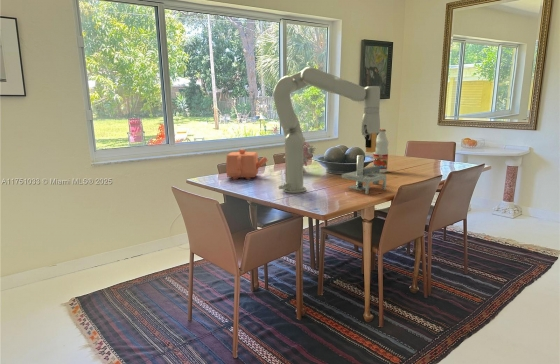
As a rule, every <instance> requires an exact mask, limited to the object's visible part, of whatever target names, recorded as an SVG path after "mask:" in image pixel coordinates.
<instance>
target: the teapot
mask: <svg viewBox="0 0 560 364" xmlns="http://www.w3.org/2000/svg"><path fill="white" fill-rule="evenodd" d="M268 162H269V160H268V158H267V157H266V156H263V157H262V158H260V160H259V159H258V152H257V151H246V149H243V148H241V149H238V151H231V152H229V154H227V155H226V163H225V164H226V165H225V166H226V177H227V178H232V180H238V179H239V178H245V180H252V178H255V177H256V176H257V174H258V173H259V169H260V167H262V166H263V165H265V164H266V163H268Z"/></svg>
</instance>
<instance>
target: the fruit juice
mask: <svg viewBox="0 0 560 364" xmlns="http://www.w3.org/2000/svg"><path fill="white" fill-rule="evenodd" d="M386 132H387V131H386V129H385V128H380V133H379V134H378V136H377V139H376V152H372V153H373V155H372V156H373V157H372V166H380V171H379V174H384V173H387V172H388V161H389V149H388V146H389V140H388V138H387V136H386ZM373 159H375V160H376V159H377V160H376V161H373Z"/></svg>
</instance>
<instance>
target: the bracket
mask: <svg viewBox="0 0 560 364" xmlns="http://www.w3.org/2000/svg"><path fill="white" fill-rule="evenodd" d="M379 171H380V166H373V165H372V166H368V167H363V174H365V173H369V172H373V173H378V174H380V173H379ZM372 184H373V185H380V180H379V181H374V182H372Z"/></svg>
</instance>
